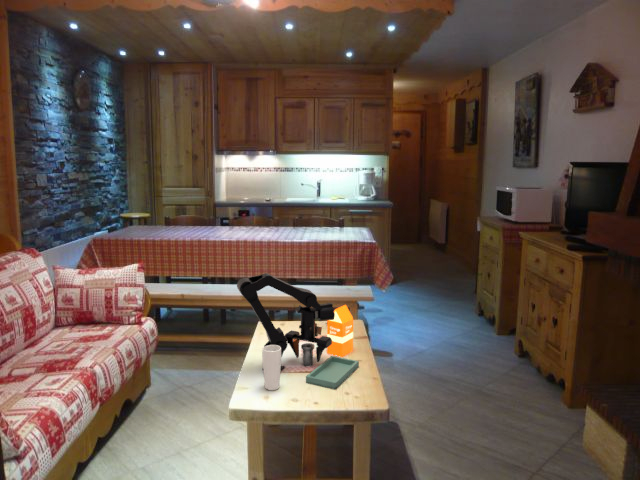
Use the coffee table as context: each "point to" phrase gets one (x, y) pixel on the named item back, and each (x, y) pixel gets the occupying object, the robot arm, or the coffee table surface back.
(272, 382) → the drinking glass
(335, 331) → the orange juice
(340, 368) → the tray
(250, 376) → the coffee table surface
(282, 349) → the robot arm
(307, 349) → the grey flanged cylinder
